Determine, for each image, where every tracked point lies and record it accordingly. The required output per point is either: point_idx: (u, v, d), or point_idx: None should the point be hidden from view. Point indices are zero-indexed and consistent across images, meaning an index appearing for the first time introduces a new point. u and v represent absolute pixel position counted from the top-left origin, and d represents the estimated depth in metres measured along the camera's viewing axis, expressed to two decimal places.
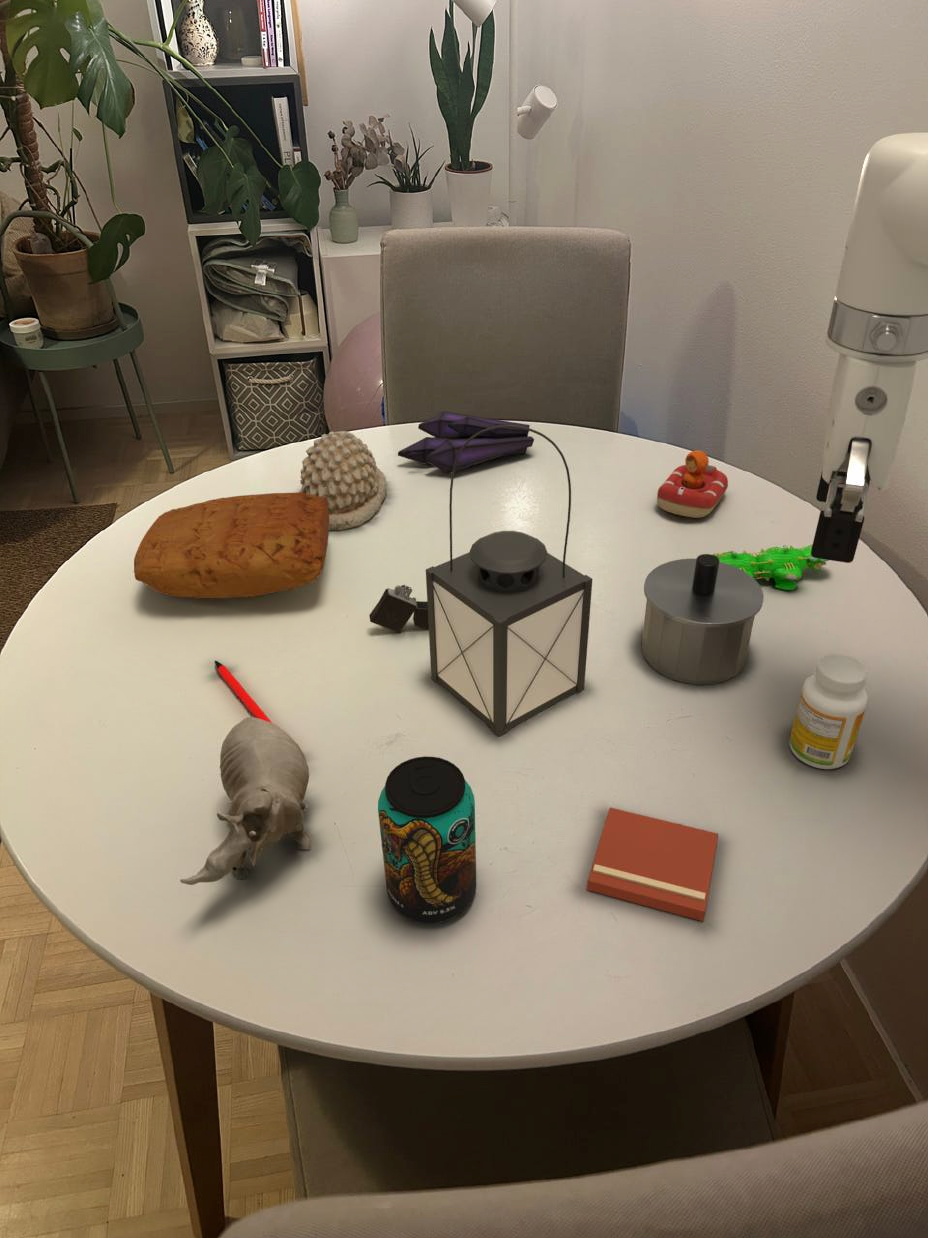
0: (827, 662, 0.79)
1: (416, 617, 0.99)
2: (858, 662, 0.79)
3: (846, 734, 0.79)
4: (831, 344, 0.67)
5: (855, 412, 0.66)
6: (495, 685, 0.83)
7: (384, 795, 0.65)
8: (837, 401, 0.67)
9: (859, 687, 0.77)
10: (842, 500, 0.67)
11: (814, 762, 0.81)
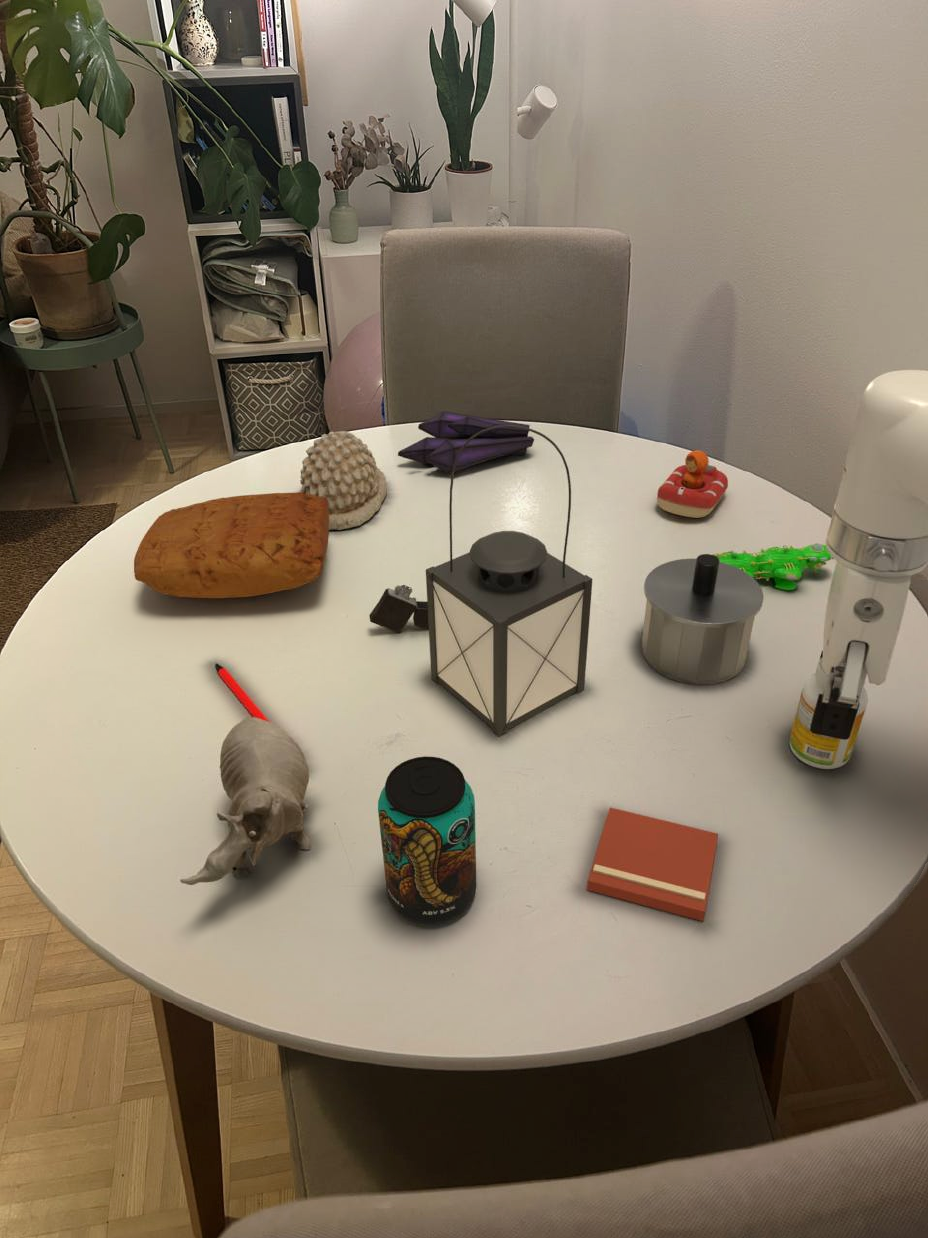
0: None
1: (416, 617, 0.99)
2: None
3: None
4: (831, 552, 0.71)
5: (853, 619, 0.70)
6: (495, 685, 0.83)
7: (384, 795, 0.65)
8: (836, 606, 0.71)
9: None
10: (837, 701, 0.72)
11: (814, 762, 0.81)
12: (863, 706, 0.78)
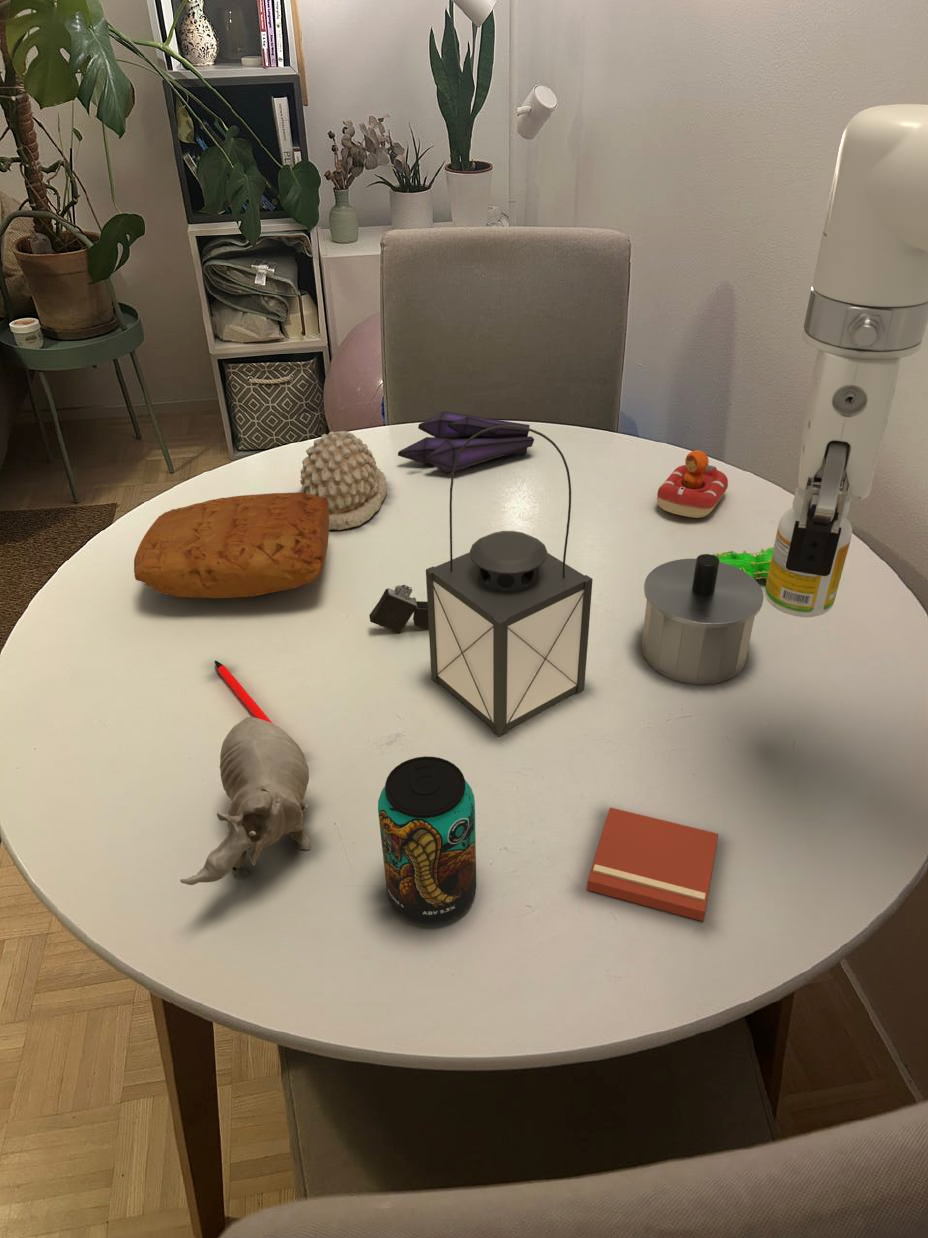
0: None
1: (416, 617, 0.99)
2: None
3: None
4: (807, 339, 0.61)
5: (832, 413, 0.60)
6: (495, 685, 0.83)
7: (384, 795, 0.65)
8: (813, 401, 0.61)
9: None
10: (814, 517, 0.63)
11: (791, 609, 0.72)
12: (846, 538, 0.68)
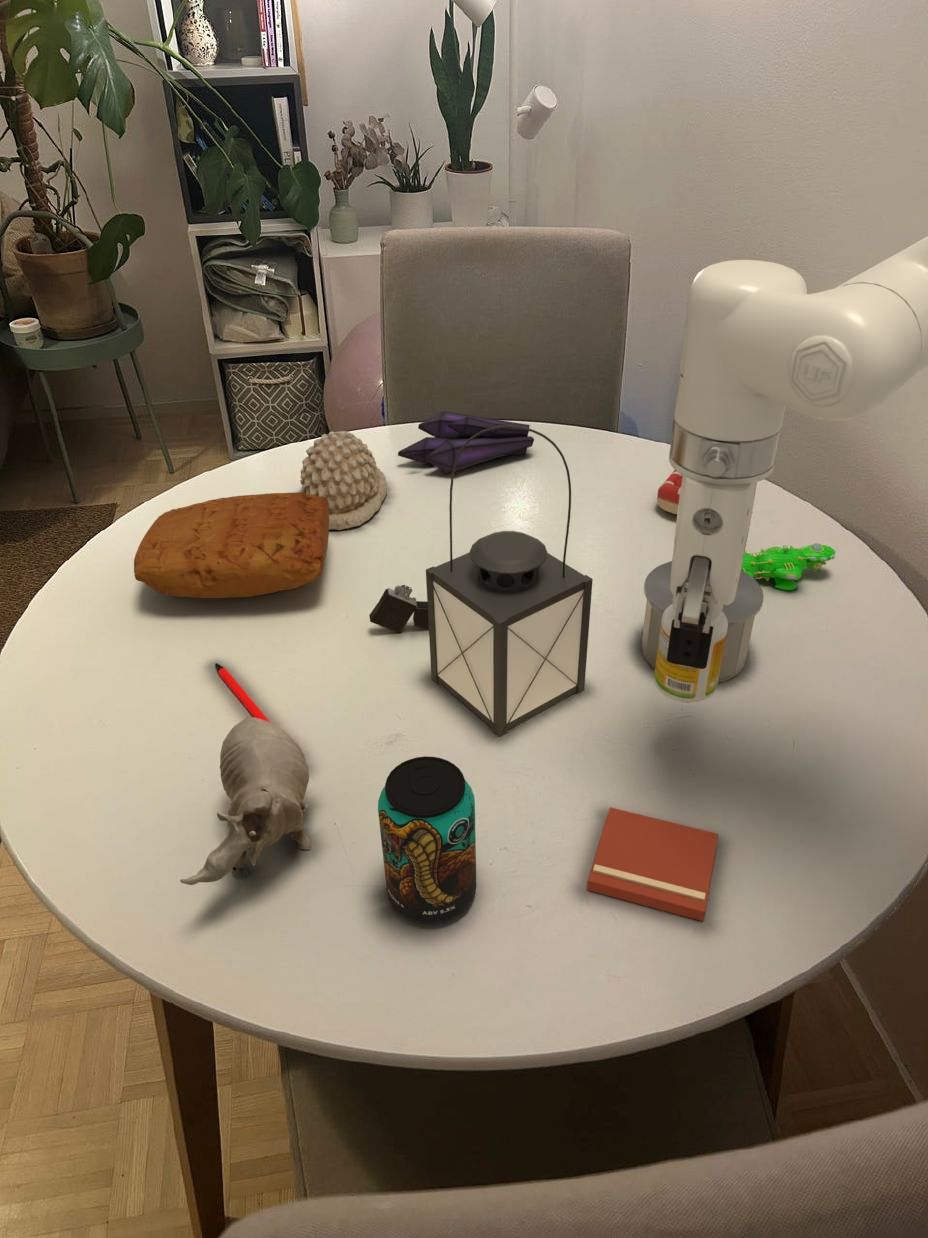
0: None
1: (416, 617, 0.99)
2: None
3: None
4: (671, 462, 0.67)
5: (693, 532, 0.66)
6: (495, 685, 0.83)
7: (384, 795, 0.65)
8: (677, 519, 0.67)
9: (715, 612, 0.73)
10: (683, 623, 0.68)
11: (676, 695, 0.77)
12: (721, 633, 0.74)
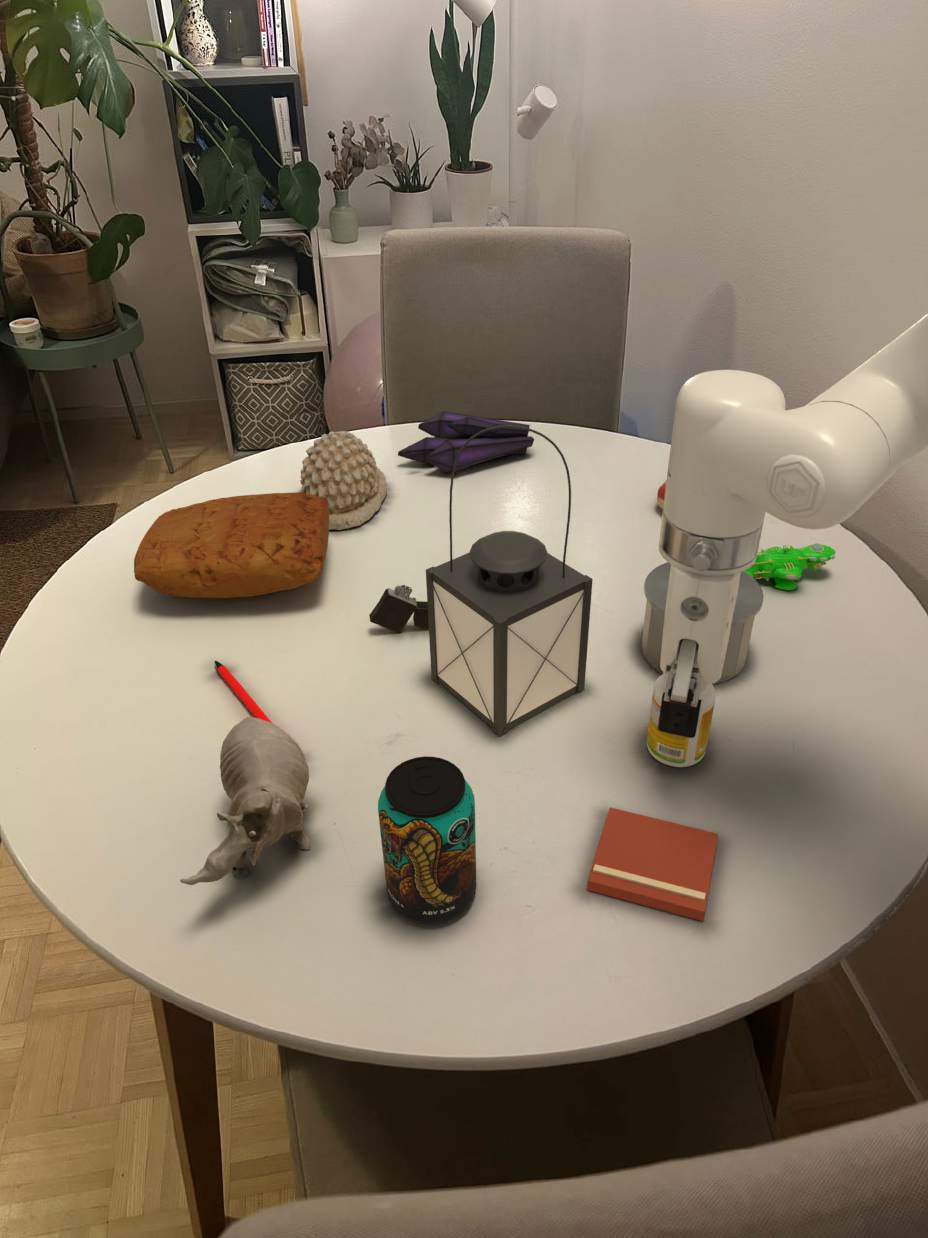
0: None
1: (416, 617, 0.99)
2: None
3: None
4: (661, 551, 0.71)
5: (681, 618, 0.70)
6: (495, 685, 0.83)
7: (384, 795, 0.65)
8: (667, 604, 0.71)
9: (703, 685, 0.77)
10: None
11: (667, 760, 0.82)
12: (709, 704, 0.78)
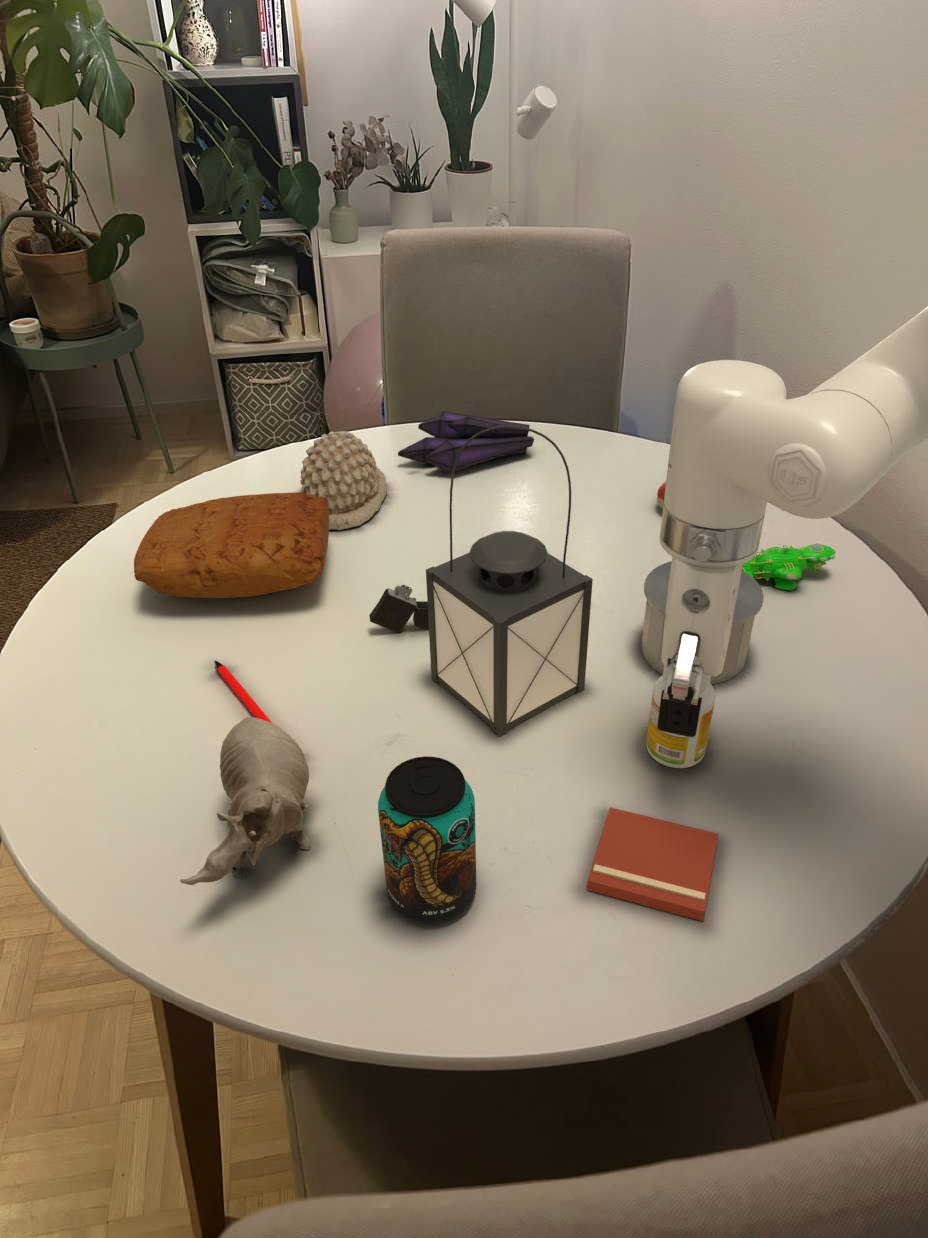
0: None
1: (416, 617, 0.99)
2: None
3: None
4: (662, 543, 0.71)
5: (683, 610, 0.70)
6: (495, 685, 0.83)
7: (384, 795, 0.65)
8: (668, 597, 0.71)
9: (702, 687, 0.77)
10: (672, 692, 0.70)
11: (666, 761, 0.82)
12: (708, 706, 0.78)
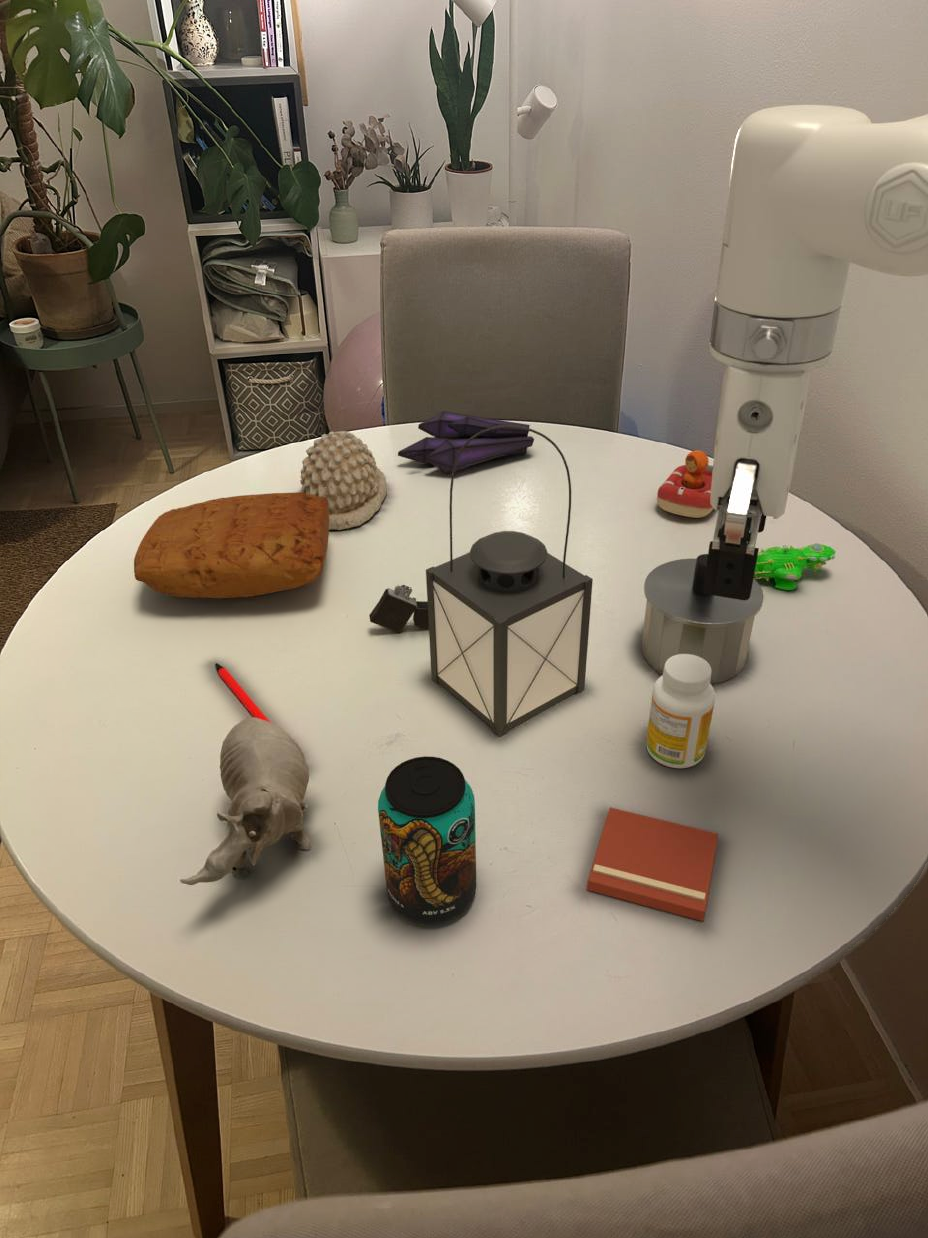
0: (674, 662, 0.79)
1: (416, 617, 0.99)
2: (704, 662, 0.79)
3: (693, 733, 0.79)
4: (712, 352, 0.58)
5: (738, 430, 0.57)
6: (495, 685, 0.83)
7: (384, 795, 0.65)
8: (720, 417, 0.58)
9: (702, 687, 0.77)
10: (725, 531, 0.58)
11: (666, 761, 0.82)
12: (708, 706, 0.78)
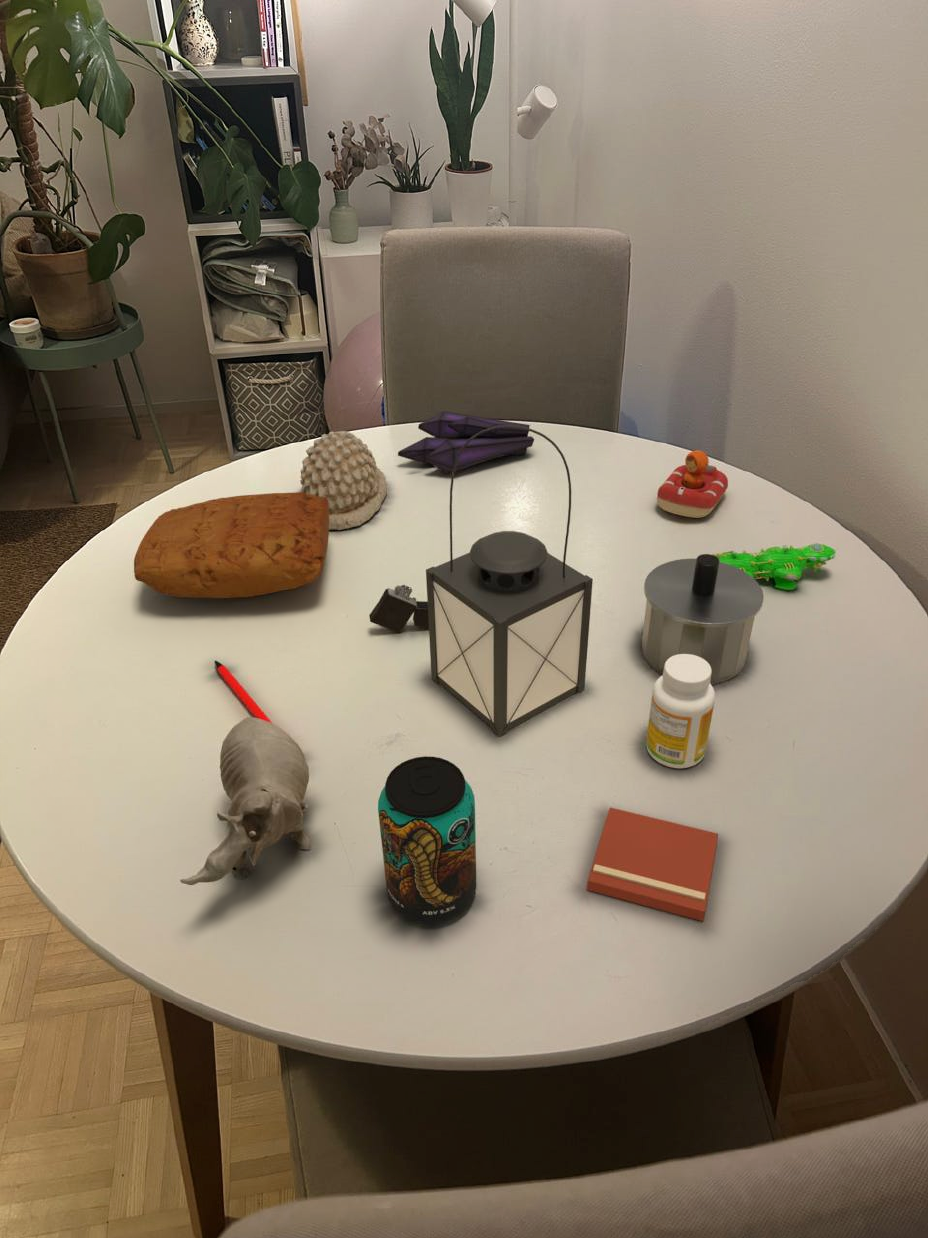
0: (674, 662, 0.79)
1: (416, 617, 0.99)
2: (704, 662, 0.79)
3: (693, 733, 0.79)
4: None
5: None
6: (495, 685, 0.83)
7: (384, 795, 0.65)
8: None
9: (702, 687, 0.77)
10: None
11: (666, 761, 0.82)
12: (708, 706, 0.78)
